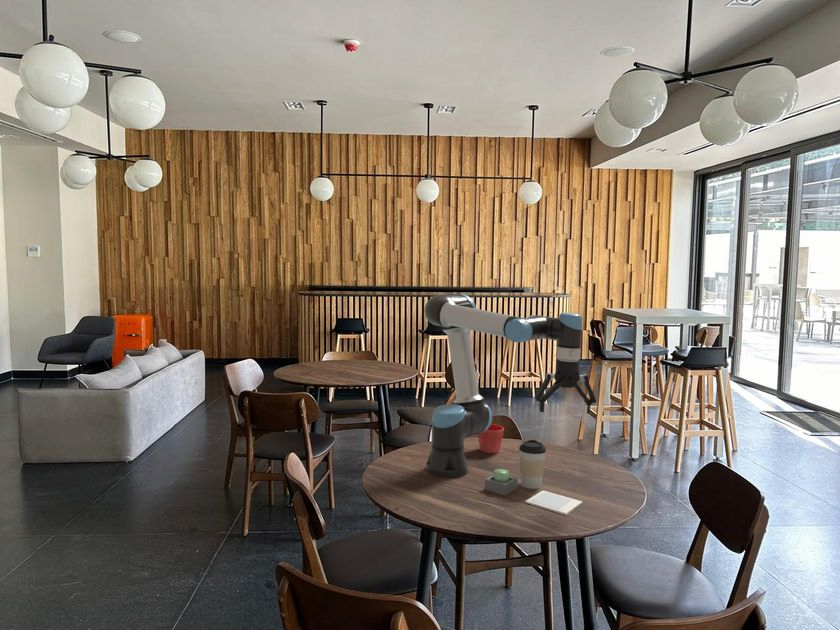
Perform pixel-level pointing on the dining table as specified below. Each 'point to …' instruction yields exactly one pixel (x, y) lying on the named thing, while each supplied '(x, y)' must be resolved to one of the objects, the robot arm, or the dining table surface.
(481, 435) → the flower pot
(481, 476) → the dining table surface
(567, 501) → the white flat piece
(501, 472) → the button
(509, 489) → the button box
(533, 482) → the coffee cup
